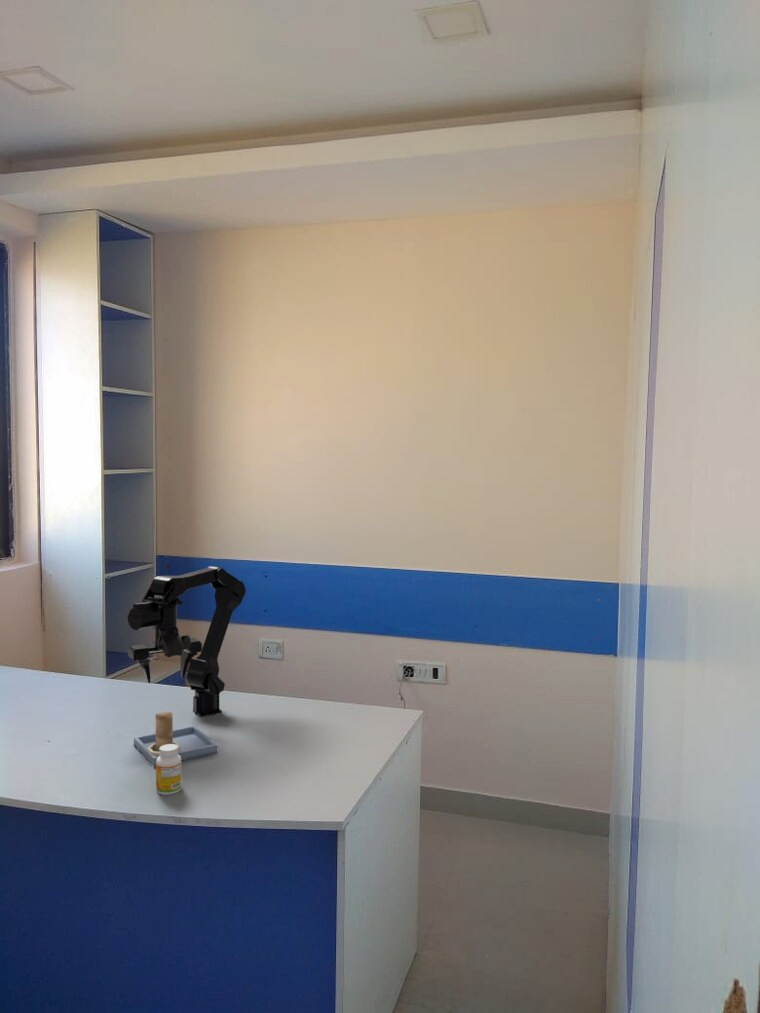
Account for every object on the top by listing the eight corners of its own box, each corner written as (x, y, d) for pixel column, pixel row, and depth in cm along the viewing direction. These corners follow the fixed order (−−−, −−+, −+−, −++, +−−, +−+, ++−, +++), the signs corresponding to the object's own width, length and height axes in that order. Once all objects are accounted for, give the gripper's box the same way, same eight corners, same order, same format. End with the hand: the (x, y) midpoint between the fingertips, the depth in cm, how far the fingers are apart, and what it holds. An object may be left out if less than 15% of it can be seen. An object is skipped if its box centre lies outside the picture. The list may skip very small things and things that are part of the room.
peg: (165, 750, 189) (165, 710, 188) (175, 754, 186) (175, 714, 186) (152, 755, 186) (152, 714, 185) (162, 759, 183) (162, 718, 183)
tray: (194, 732, 202) (194, 723, 202) (217, 752, 189) (217, 742, 189) (133, 744, 193) (133, 735, 193) (153, 766, 180) (153, 756, 180)
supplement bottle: (159, 785, 170) (158, 742, 170) (183, 784, 171) (183, 742, 170) (153, 795, 165) (153, 752, 164) (179, 795, 165) (179, 751, 165)
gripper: (139, 633, 192) (140, 693, 193) (209, 625, 203) (209, 682, 204) (127, 624, 201) (127, 682, 202) (195, 617, 212) (195, 672, 213)
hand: (165, 680), depth 205 cm, fingers open, 9 cm apart
